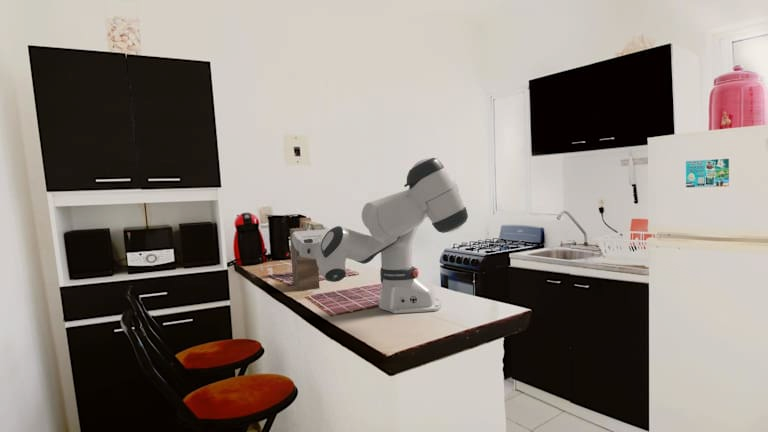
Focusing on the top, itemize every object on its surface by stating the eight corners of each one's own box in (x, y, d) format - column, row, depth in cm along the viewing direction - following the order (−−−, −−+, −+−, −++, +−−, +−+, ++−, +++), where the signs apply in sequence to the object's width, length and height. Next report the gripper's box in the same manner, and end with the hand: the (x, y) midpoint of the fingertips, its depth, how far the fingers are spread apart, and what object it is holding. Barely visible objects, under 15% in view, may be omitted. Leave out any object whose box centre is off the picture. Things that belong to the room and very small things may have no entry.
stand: (319, 288, 183) (316, 229, 181) (299, 291, 180) (295, 231, 178) (312, 281, 198) (308, 227, 196) (293, 283, 194) (289, 228, 193)
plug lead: (323, 231, 157) (322, 220, 156) (313, 232, 155) (312, 221, 155) (309, 226, 180) (308, 217, 180) (300, 227, 178) (299, 218, 178)
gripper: (352, 238, 151) (342, 217, 162) (296, 243, 143) (289, 221, 154) (350, 251, 154) (340, 230, 165) (295, 257, 147) (288, 235, 157)
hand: (315, 226), depth 159 cm, fingers closed on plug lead, 3 cm apart
